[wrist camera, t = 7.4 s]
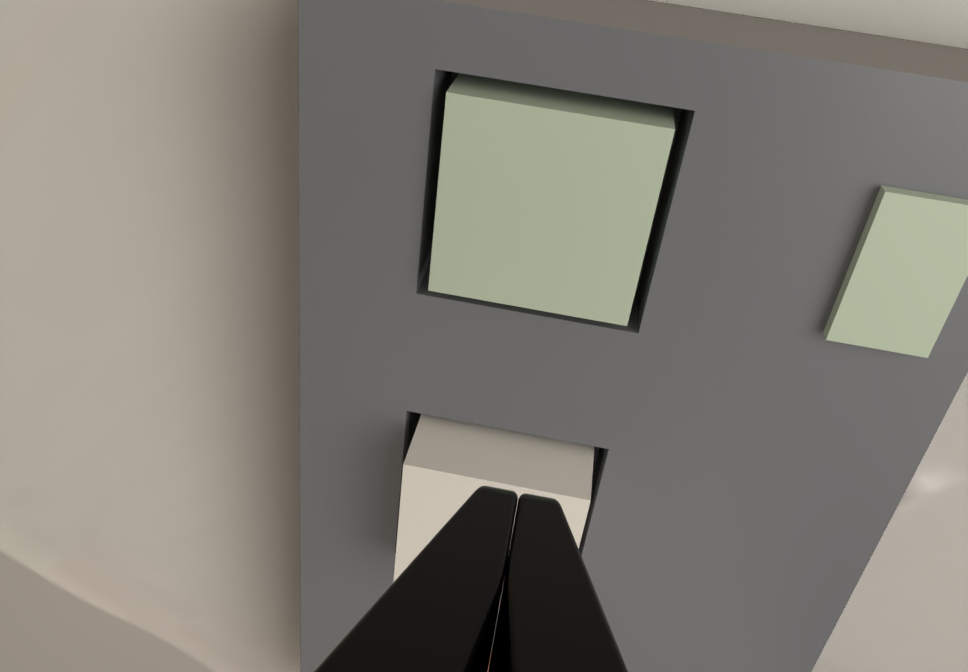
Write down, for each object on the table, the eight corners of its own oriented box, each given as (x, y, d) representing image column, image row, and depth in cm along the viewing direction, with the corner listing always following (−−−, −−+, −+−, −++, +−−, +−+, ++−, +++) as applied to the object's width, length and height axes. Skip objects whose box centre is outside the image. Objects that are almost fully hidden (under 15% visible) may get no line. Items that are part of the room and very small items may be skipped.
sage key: (628, 281, 19) (627, 326, 17) (446, 248, 19) (428, 290, 18) (671, 97, 17) (675, 129, 15) (465, 64, 17) (446, 92, 15)
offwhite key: (565, 564, 22) (559, 625, 21) (410, 533, 23) (392, 591, 21) (594, 442, 20) (590, 500, 18) (422, 410, 20) (403, 464, 19)
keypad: (722, 739, 29) (731, 836, 26) (329, 656, 30) (297, 741, 27) (1036, 59, 17) (1115, 108, 14) (346, -45, 18) (292, -19, 15)
